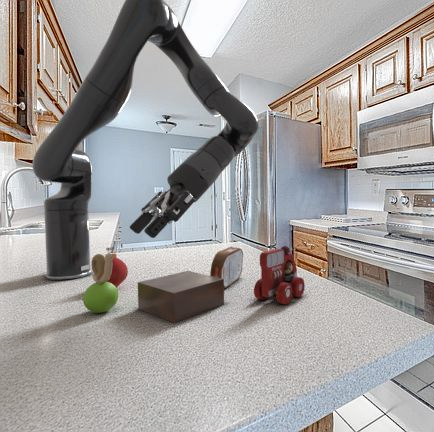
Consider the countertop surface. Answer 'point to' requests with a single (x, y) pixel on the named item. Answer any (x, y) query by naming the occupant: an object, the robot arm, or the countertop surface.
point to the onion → (118, 271)
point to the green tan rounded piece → (101, 285)
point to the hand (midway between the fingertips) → (140, 232)
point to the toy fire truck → (278, 276)
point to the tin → (227, 265)
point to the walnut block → (180, 295)
